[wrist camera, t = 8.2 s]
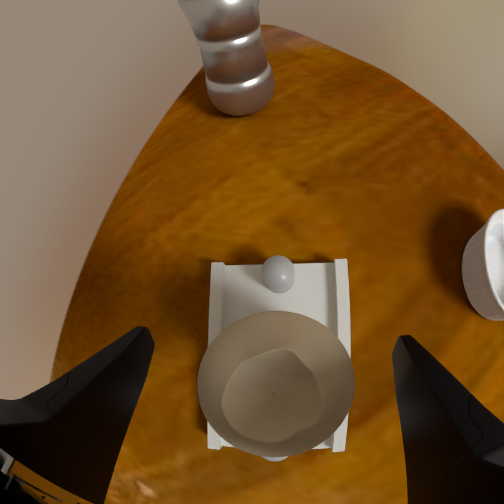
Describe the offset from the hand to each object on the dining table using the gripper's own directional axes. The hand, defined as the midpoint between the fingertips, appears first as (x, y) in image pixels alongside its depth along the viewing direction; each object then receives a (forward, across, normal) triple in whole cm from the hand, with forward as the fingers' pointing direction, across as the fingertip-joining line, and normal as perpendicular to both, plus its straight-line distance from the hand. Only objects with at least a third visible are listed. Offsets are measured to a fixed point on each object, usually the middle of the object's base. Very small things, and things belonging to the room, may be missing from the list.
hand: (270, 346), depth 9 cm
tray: (+6, 0, +8) cm, 10 cm away
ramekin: (+10, -19, +4) cm, 22 cm away
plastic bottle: (+23, +4, -9) cm, 25 cm away
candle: (+5, 0, +7) cm, 9 cm away
